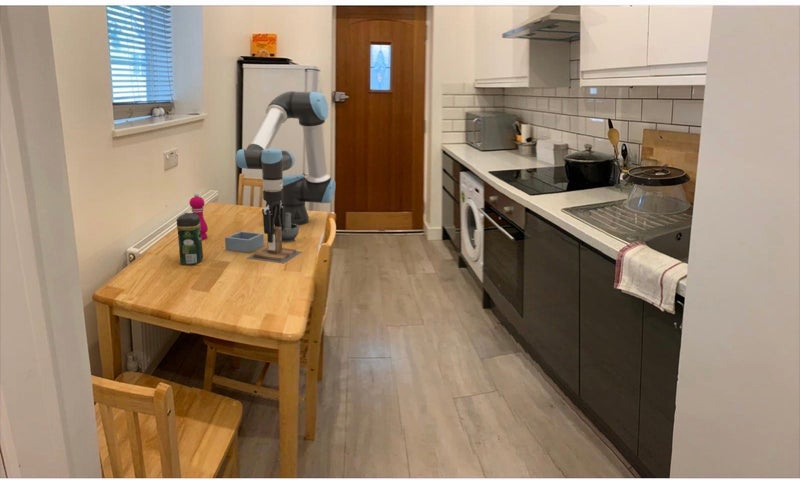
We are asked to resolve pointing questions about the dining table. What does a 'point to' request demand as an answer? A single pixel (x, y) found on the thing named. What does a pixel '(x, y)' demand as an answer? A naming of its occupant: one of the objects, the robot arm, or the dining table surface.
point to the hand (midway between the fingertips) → (274, 248)
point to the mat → (275, 260)
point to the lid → (279, 251)
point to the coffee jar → (189, 239)
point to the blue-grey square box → (244, 241)
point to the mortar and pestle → (289, 229)
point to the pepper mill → (199, 213)
